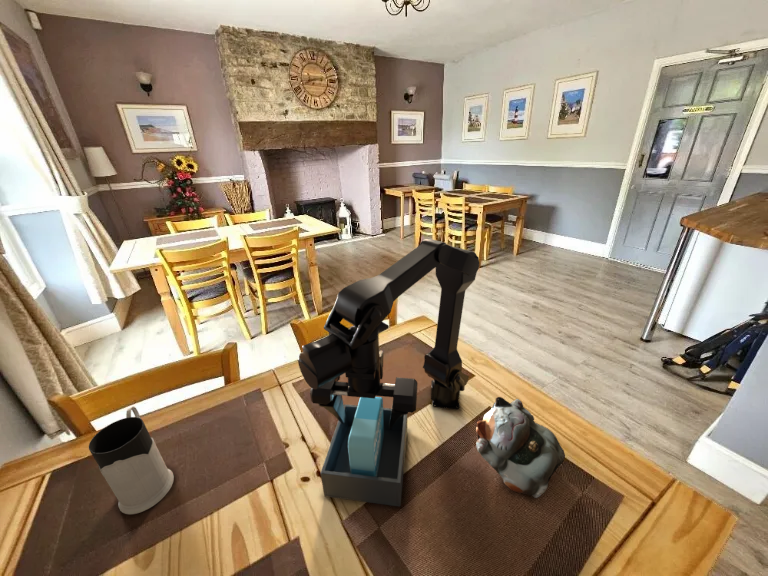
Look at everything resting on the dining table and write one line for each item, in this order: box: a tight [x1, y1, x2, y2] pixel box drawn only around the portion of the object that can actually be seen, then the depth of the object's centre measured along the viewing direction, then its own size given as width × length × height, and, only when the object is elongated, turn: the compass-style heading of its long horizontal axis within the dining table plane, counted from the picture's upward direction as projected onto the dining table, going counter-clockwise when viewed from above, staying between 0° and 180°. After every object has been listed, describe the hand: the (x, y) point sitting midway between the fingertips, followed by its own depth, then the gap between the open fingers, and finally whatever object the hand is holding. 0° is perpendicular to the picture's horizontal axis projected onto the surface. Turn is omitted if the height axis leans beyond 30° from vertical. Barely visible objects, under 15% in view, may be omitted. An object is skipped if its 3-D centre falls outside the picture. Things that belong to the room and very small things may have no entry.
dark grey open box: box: [320, 403, 408, 508], centre depth 62 cm, size 14×16×7 cm
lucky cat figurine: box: [475, 396, 566, 499], centre depth 61 cm, size 15×12×14 cm
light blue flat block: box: [348, 396, 384, 477], centre depth 61 cm, size 12×4×12 cm, turn 172°
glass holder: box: [88, 405, 175, 515], centre depth 59 cm, size 9×14×15 cm, turn 27°
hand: (366, 424), depth 59 cm, fingers open, 9 cm apart
